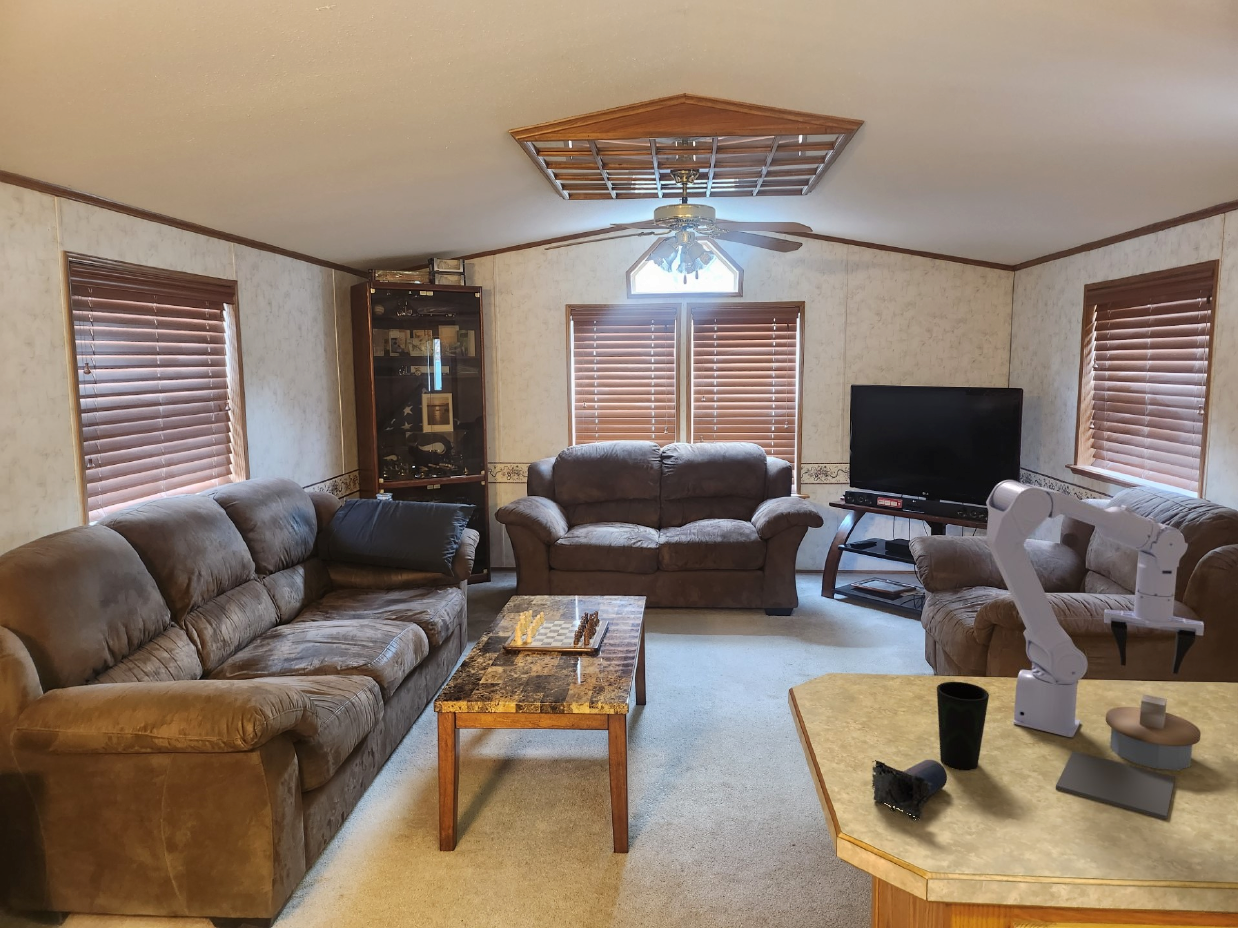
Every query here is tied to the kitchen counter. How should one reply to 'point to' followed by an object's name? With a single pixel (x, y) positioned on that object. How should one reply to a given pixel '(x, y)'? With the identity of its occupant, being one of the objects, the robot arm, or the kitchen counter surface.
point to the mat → (1117, 784)
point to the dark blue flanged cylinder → (908, 785)
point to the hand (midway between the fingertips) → (1148, 667)
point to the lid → (1153, 724)
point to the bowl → (1150, 752)
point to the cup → (961, 723)
